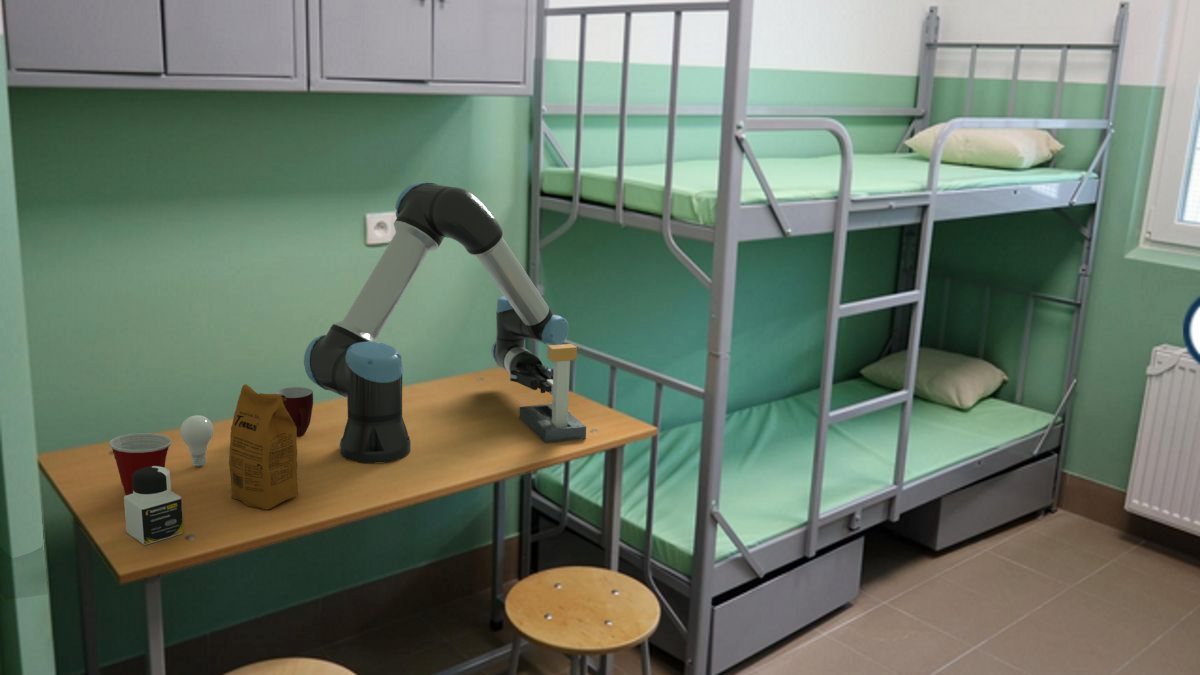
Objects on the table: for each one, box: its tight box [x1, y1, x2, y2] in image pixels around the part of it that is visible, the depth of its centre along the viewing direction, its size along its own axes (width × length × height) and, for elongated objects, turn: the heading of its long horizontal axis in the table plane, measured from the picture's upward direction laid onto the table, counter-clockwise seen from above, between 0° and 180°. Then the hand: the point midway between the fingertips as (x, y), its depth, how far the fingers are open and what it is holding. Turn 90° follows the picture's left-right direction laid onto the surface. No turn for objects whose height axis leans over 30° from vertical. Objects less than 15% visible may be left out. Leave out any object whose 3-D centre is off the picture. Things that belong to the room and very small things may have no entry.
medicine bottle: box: [123, 466, 184, 546], centre depth 179 cm, size 7×7×12 cm
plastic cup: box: [108, 432, 173, 496], centre depth 193 cm, size 11×11×12 cm
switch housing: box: [518, 403, 587, 444], centre depth 242 cm, size 18×10×3 cm, turn 24°
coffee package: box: [228, 383, 299, 510], centre depth 194 cm, size 10×12×22 cm
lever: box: [546, 343, 578, 428], centre depth 235 cm, size 3×6×20 cm, turn 114°
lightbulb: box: [179, 414, 214, 468], centre depth 209 cm, size 6×6×11 cm
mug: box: [275, 386, 314, 438], centre depth 229 cm, size 11×8×10 cm
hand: (559, 392), depth 237 cm, fingers closed
